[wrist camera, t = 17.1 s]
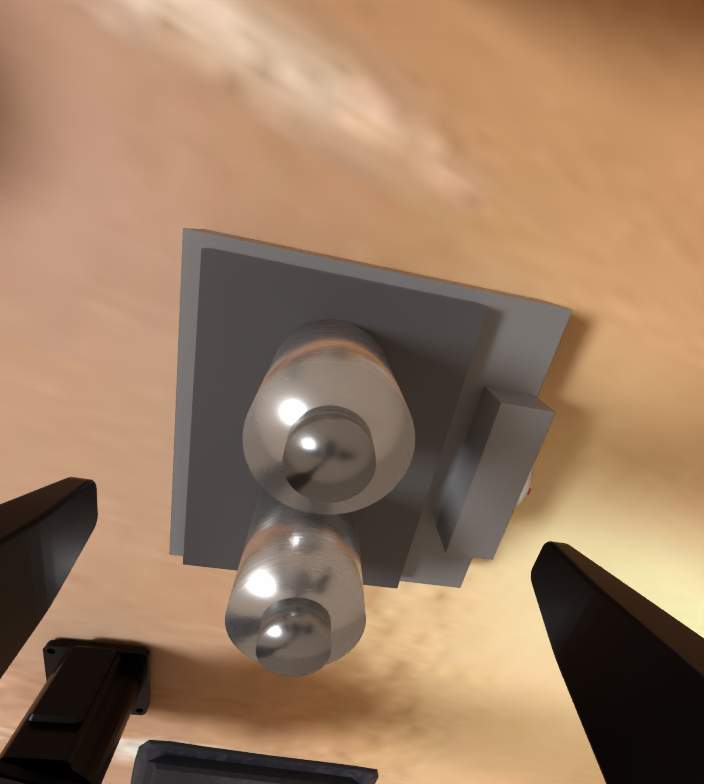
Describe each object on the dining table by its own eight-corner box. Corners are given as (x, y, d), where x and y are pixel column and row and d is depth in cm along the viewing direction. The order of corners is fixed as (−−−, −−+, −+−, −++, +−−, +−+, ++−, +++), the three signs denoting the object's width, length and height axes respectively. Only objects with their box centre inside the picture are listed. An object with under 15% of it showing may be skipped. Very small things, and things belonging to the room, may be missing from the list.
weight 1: (374, 437, 17) (397, 547, 11) (264, 419, 17) (225, 526, 11) (401, 332, 16) (445, 394, 9) (280, 308, 15) (244, 358, 9)
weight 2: (346, 559, 20) (352, 704, 14) (250, 548, 19) (212, 694, 13) (365, 479, 18) (383, 605, 12) (261, 465, 18) (222, 588, 11)
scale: (452, 555, 25) (475, 618, 21) (186, 521, 23) (154, 584, 19) (547, 301, 19) (606, 319, 15) (203, 229, 17) (162, 227, 13)
